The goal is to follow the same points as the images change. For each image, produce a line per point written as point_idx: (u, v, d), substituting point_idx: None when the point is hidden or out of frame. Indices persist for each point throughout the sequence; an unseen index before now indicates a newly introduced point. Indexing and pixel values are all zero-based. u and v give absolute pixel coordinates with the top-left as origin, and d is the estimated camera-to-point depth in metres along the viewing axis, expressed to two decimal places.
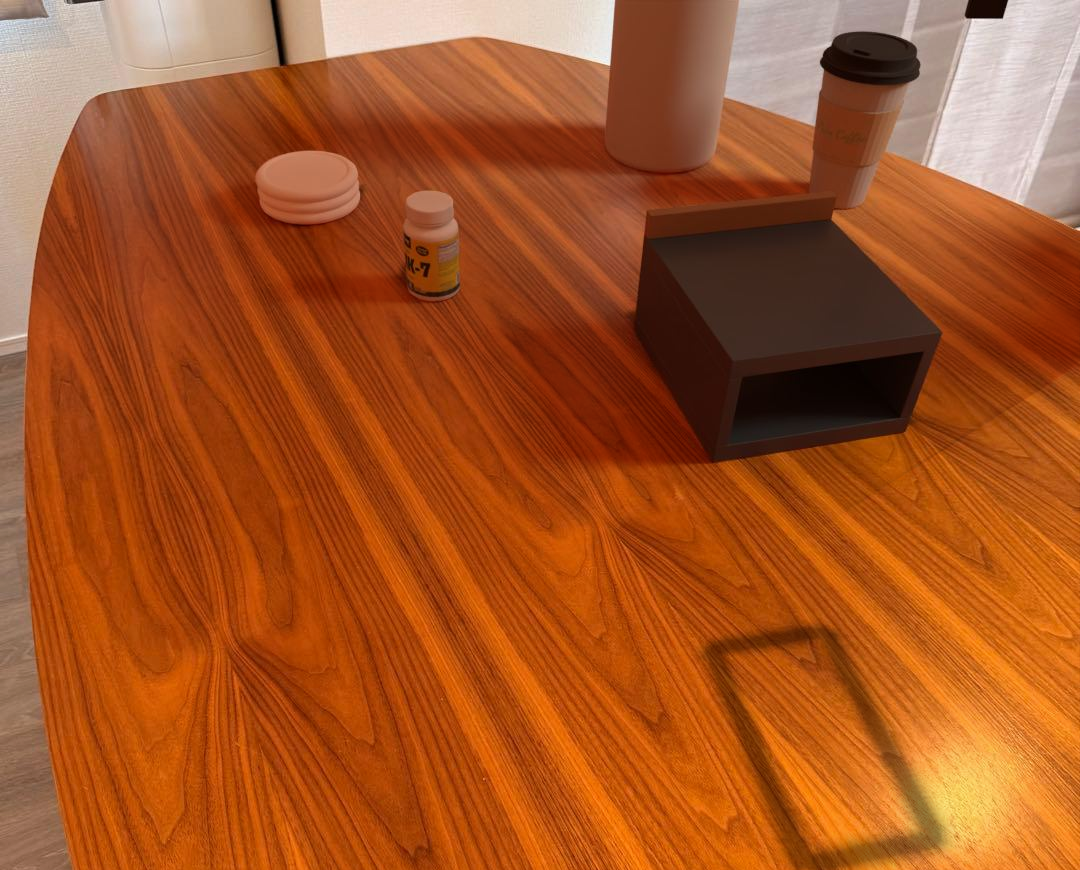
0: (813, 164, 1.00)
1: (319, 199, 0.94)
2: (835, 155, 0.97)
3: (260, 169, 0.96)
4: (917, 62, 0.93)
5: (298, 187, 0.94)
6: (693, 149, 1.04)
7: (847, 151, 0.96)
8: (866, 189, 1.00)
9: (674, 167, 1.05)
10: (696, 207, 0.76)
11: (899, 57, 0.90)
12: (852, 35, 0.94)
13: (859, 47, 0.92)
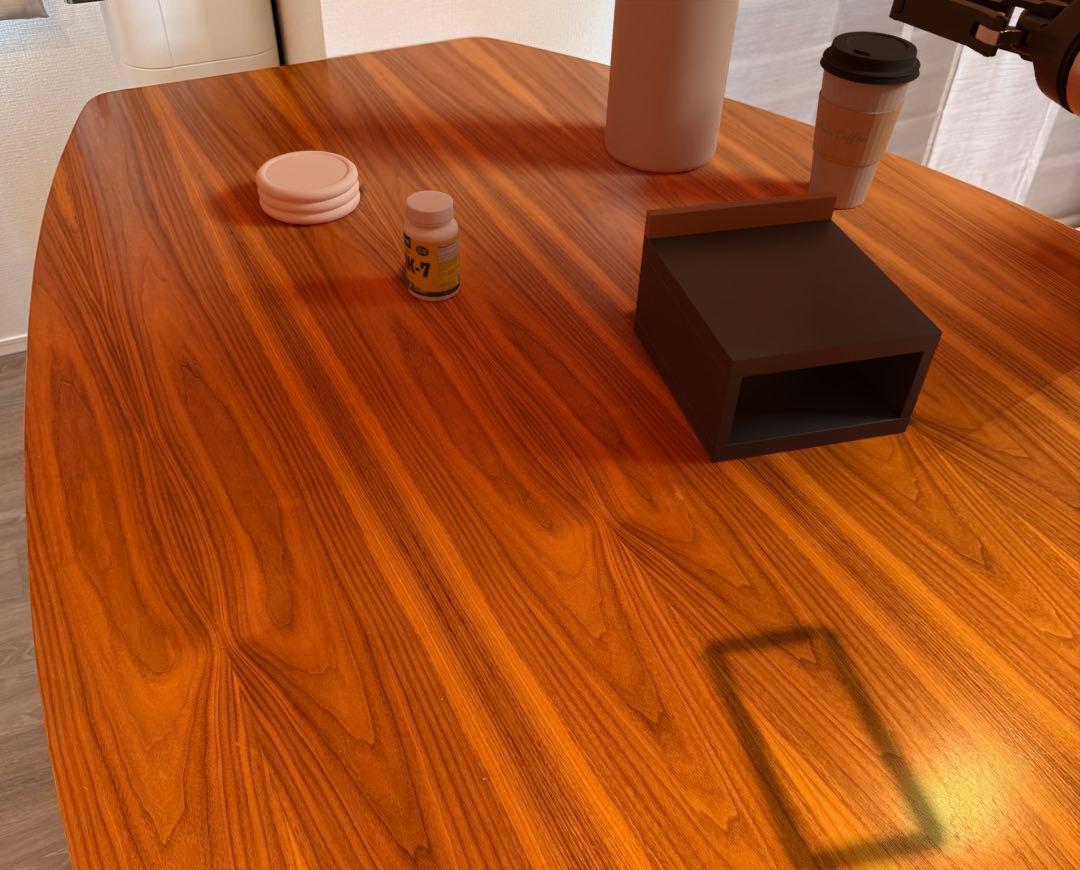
0: (813, 164, 1.00)
1: (319, 199, 0.94)
2: (835, 155, 0.97)
3: (260, 169, 0.96)
4: (917, 62, 0.93)
5: (298, 187, 0.94)
6: (693, 149, 1.04)
7: (847, 151, 0.96)
8: (866, 189, 1.00)
9: (674, 167, 1.05)
10: (696, 207, 0.76)
11: (899, 57, 0.90)
12: (852, 35, 0.94)
13: (859, 47, 0.92)
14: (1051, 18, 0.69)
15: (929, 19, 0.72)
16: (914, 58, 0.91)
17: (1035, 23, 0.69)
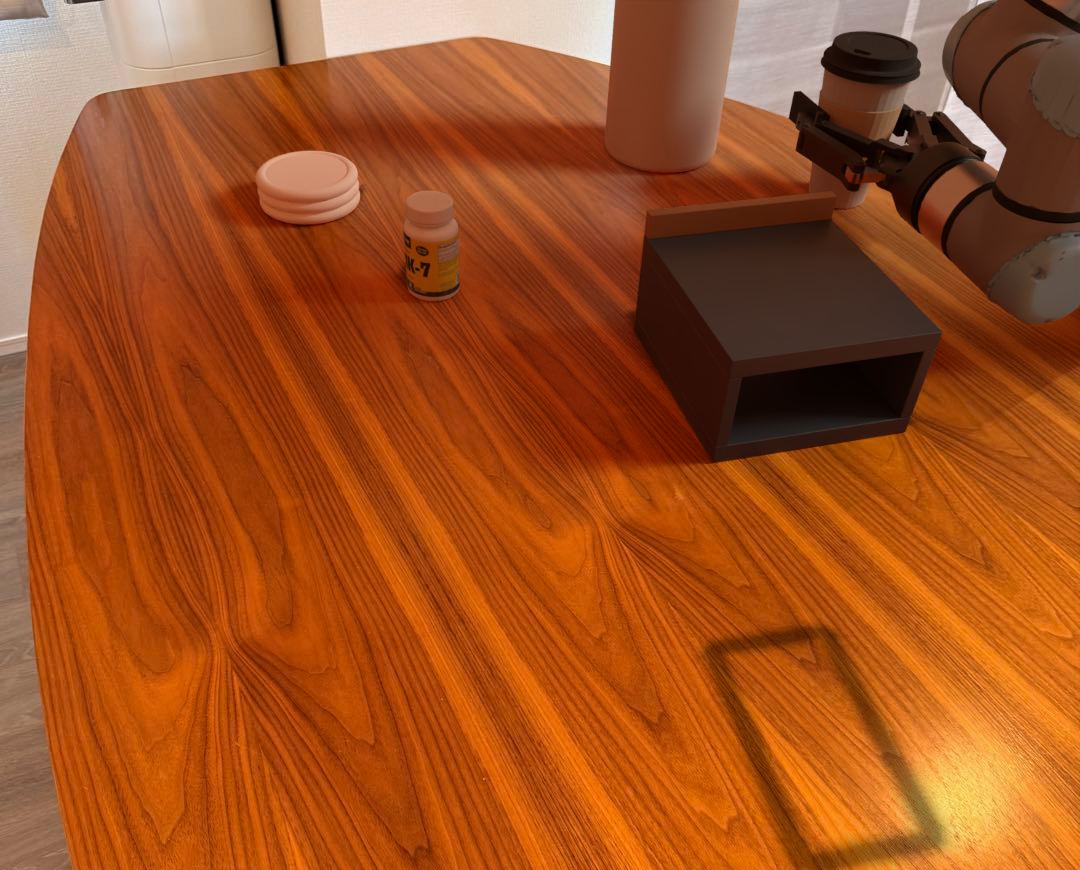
0: (813, 164, 1.00)
1: (319, 199, 0.94)
2: None
3: (260, 169, 0.96)
4: (918, 62, 0.93)
5: (298, 187, 0.94)
6: (693, 149, 1.04)
7: None
8: (866, 189, 1.00)
9: (674, 167, 1.05)
10: (696, 207, 0.76)
11: (899, 56, 0.90)
12: (853, 35, 0.94)
13: (860, 47, 0.92)
14: (904, 162, 0.88)
15: (818, 156, 0.92)
16: (915, 58, 0.91)
17: (888, 168, 0.87)
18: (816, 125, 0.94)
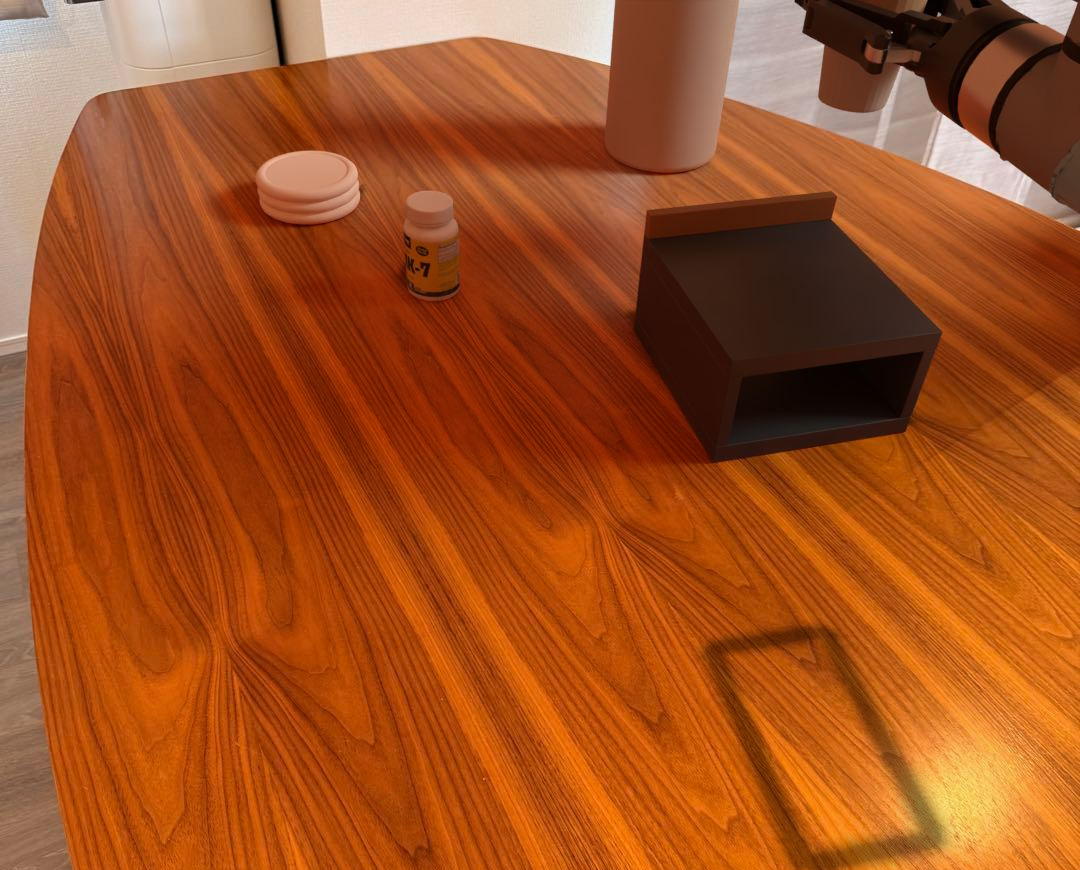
0: (824, 57, 0.82)
1: (319, 199, 0.94)
2: None
3: (260, 169, 0.96)
4: None
5: (298, 187, 0.94)
6: (693, 149, 1.04)
7: None
8: (889, 88, 0.82)
9: (674, 167, 1.05)
10: (696, 207, 0.76)
11: None
12: None
13: None
14: (940, 36, 0.69)
15: (830, 35, 0.74)
16: None
17: (920, 42, 0.69)
18: None
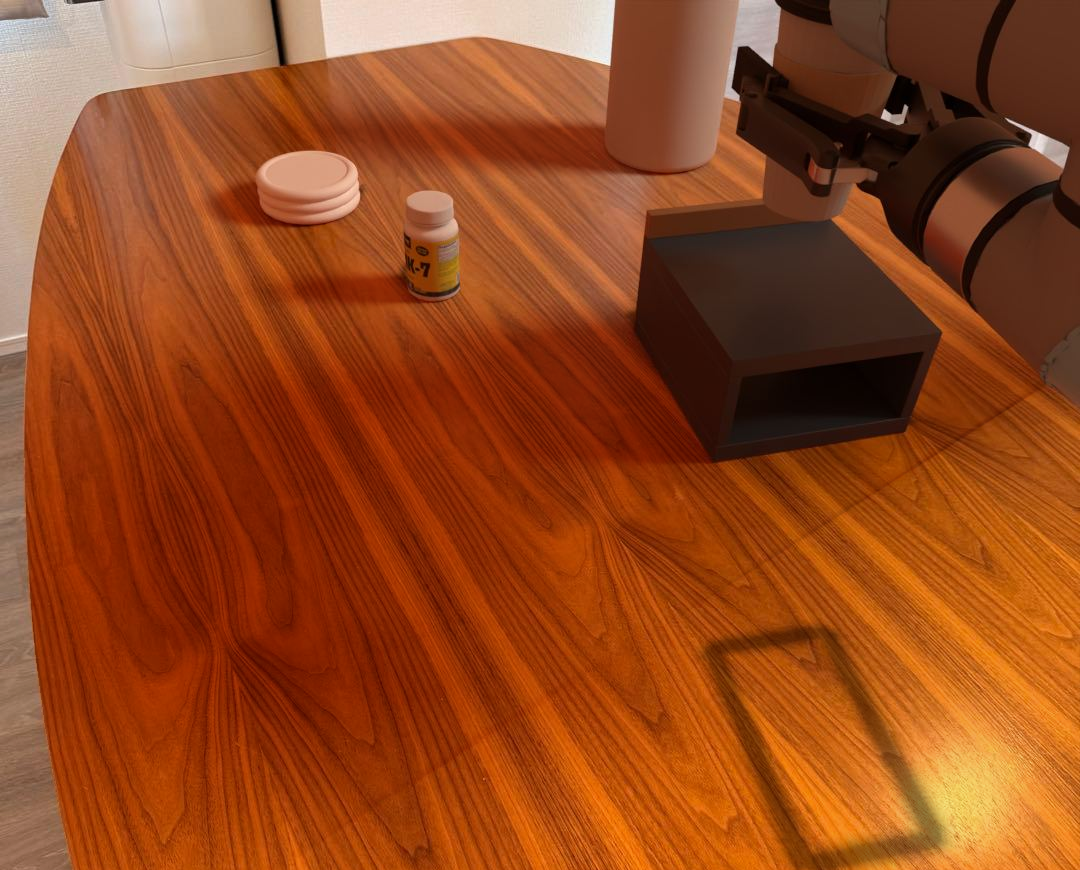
0: None
1: (319, 199, 0.94)
2: None
3: (260, 169, 0.96)
4: None
5: (298, 187, 0.94)
6: (693, 149, 1.04)
7: None
8: (846, 193, 0.68)
9: (674, 167, 1.05)
10: (696, 207, 0.76)
11: None
12: None
13: None
14: (902, 150, 0.55)
15: (768, 141, 0.59)
16: None
17: (876, 160, 0.54)
18: (767, 95, 0.61)
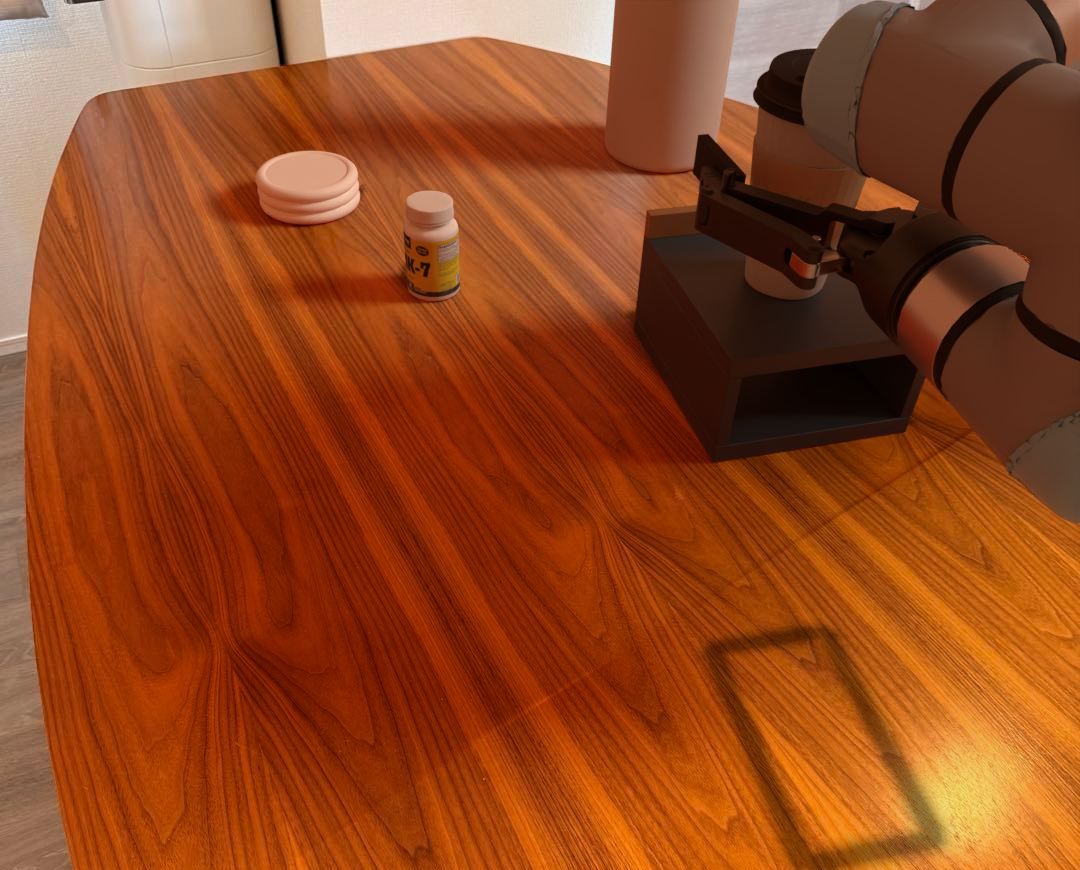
0: None
1: (319, 199, 0.94)
2: None
3: (260, 169, 0.96)
4: None
5: (298, 187, 0.94)
6: (693, 149, 1.04)
7: None
8: None
9: (674, 167, 1.05)
10: (696, 207, 0.76)
11: None
12: (801, 54, 0.64)
13: None
14: (877, 238, 0.57)
15: (736, 237, 0.60)
16: None
17: (857, 249, 0.56)
18: (726, 191, 0.61)
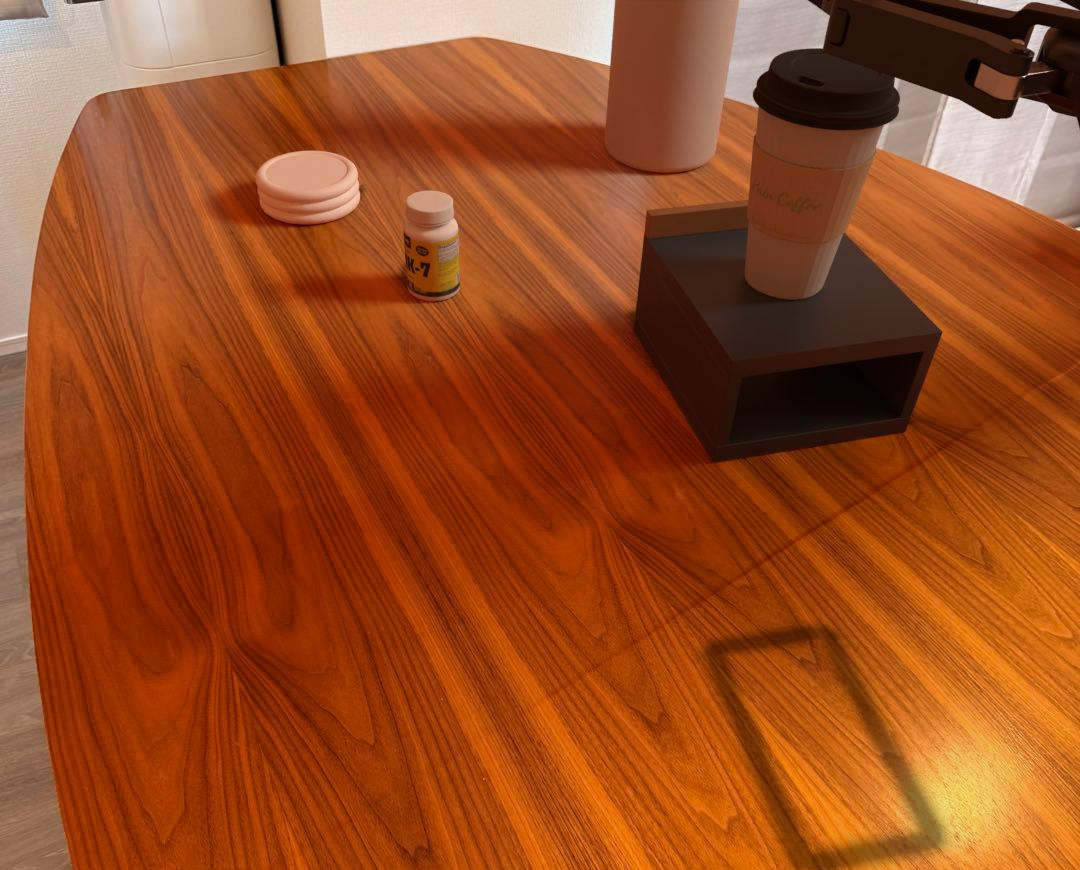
0: (749, 237, 0.70)
1: (319, 199, 0.94)
2: (778, 227, 0.67)
3: (260, 169, 0.96)
4: (895, 95, 0.62)
5: (298, 187, 0.94)
6: (693, 149, 1.04)
7: (794, 223, 0.66)
8: (824, 272, 0.70)
9: (674, 167, 1.05)
10: (696, 207, 0.76)
11: (867, 88, 0.60)
12: (800, 54, 0.64)
13: (809, 72, 0.62)
14: None
15: (890, 54, 0.42)
16: (890, 89, 0.61)
17: None
18: None
